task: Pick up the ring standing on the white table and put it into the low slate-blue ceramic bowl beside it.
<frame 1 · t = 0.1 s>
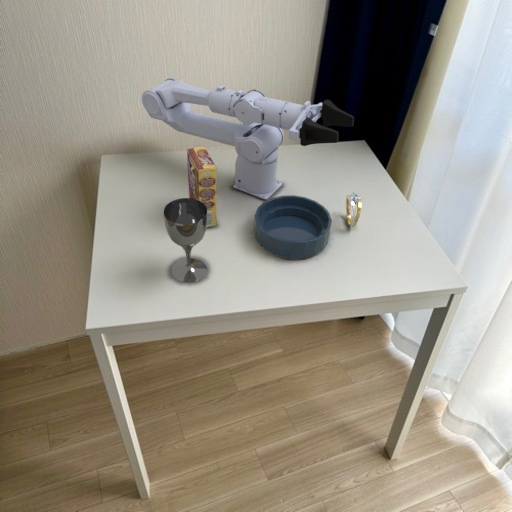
hand: (345, 129, 106), 22 cm above the table, tool horizontal, fingers open, 7 cm apart
bowl: (291, 235, 114), on the table
ring: (349, 224, 118), on the table
wine glass: (189, 271, 105), on the table
candy box: (203, 216, 118), on the table
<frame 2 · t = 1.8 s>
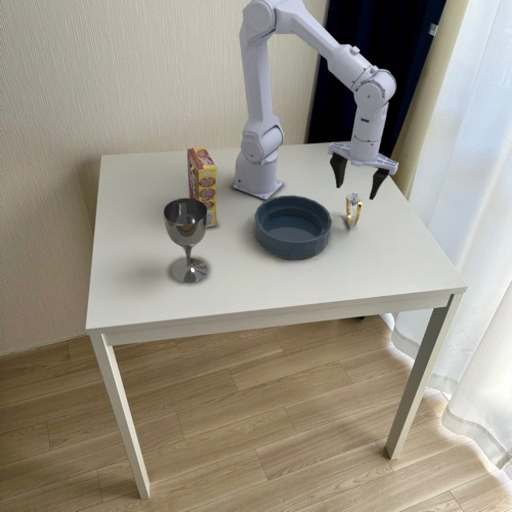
hand: (355, 191, 112), 9 cm above the table, tool pointing down, fingers open, 7 cm apart
nothing on the table moved.
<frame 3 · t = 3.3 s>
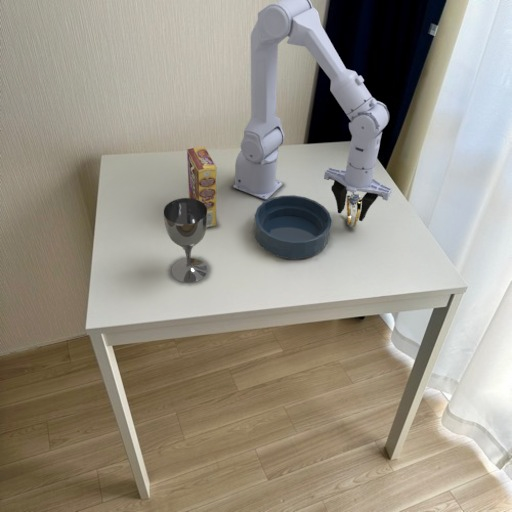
hand: (351, 214, 116), 3 cm above the table, tool pointing down, fingers closed on ring, 4 cm apart
ring: (349, 224, 118), on the table, touching gripper
everything else where it was.
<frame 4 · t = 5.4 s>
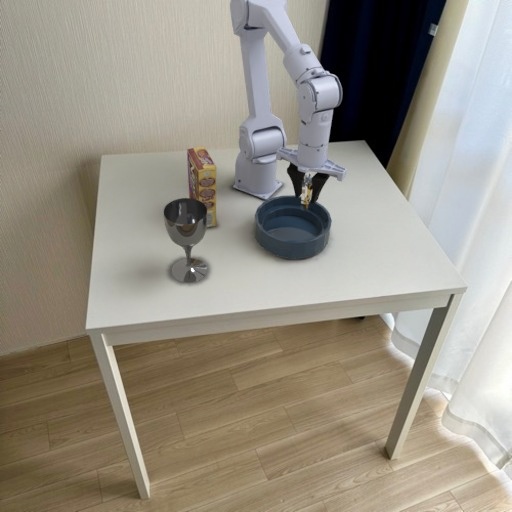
hand: (306, 197, 108), 10 cm above the table, tool pointing down, fingers closed on ring, 3 cm apart
ring: (305, 209, 110), point 7 cm above the table, touching gripper
everything else where it was.
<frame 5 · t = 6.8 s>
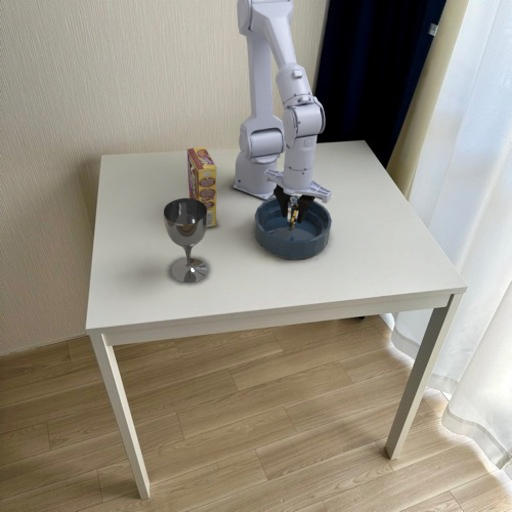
hand: (293, 218, 111), 5 cm above the table, tool pointing down, fingers closed on ring, 3 cm apart
ring: (292, 228, 113), point 2 cm above the table, touching gripper
everything else where it was.
when the fingers open (3 cm above the table, at t = 7.6 s): ring stays where it is, resting on bowl.
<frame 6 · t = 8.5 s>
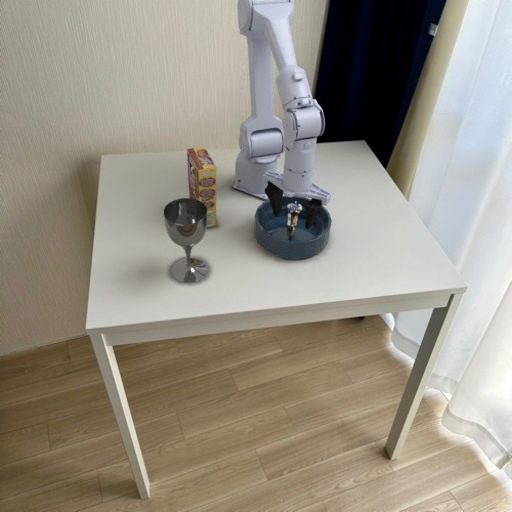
hand: (292, 219, 111), 4 cm above the table, tool pointing down, fingers open, 7 cm apart
ring: (291, 234, 114), resting on bowl
everything else where it was.
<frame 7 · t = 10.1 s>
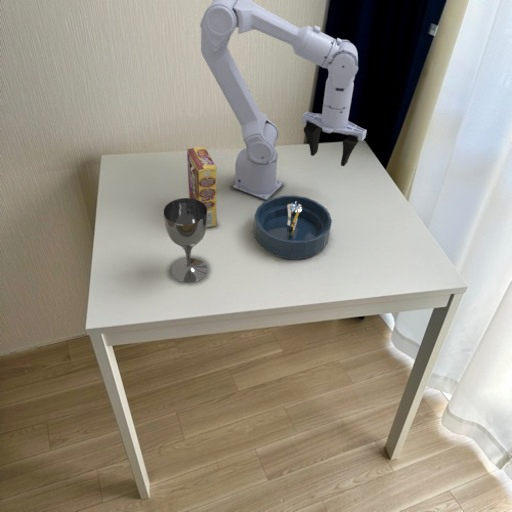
hand: (328, 158, 119), 10 cm above the table, tool pointing down, fingers open, 7 cm apart
nothing on the table moved.
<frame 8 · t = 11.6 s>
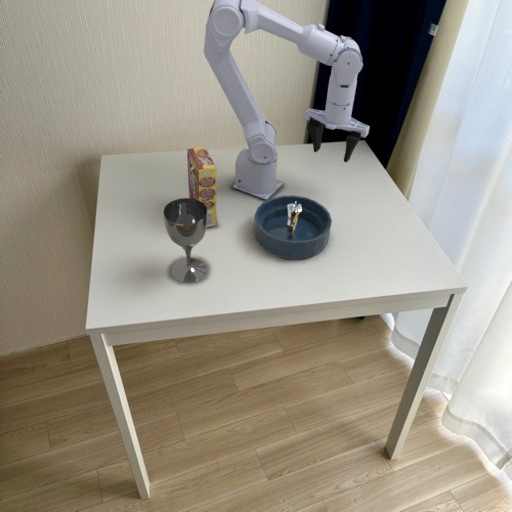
hand: (331, 155, 121), 10 cm above the table, tool pointing down, fingers open, 7 cm apart
nothing on the table moved.
at the end: ring inside the target area in the bowl (0.1 cm from its centre), point 0.4 cm above the bowl's base; the gripper is holding nothing; ring moved 14.2 cm from its start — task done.
